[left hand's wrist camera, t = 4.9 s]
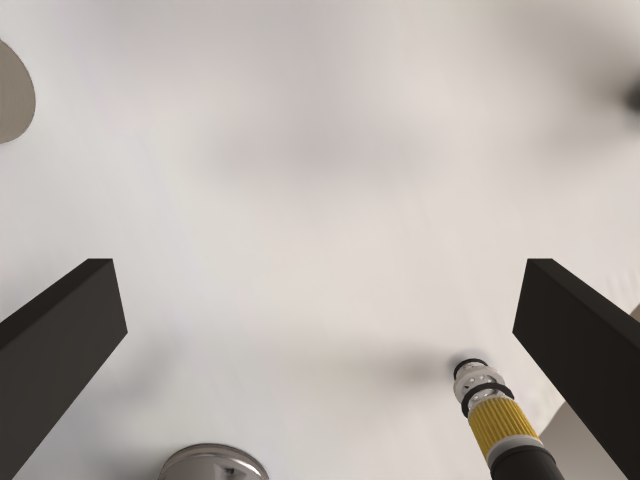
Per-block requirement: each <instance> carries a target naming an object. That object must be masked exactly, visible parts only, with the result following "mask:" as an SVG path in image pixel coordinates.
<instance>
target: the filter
mask: <svg viewBox="0 0 640 480" xmlns="http://www.w3.org/2000/svg"><path fill="white" fill-rule="evenodd" d="M470 362H479V363H482V364H484V365H485V366H475V367H473V365H472V364H470ZM463 365H464V366H463ZM468 365H471V366H472V368H469V369H467V370H465V367H466V366H468ZM462 366H463V367H464V371H463V372H462V373H461V374H460V375H459V376H458V377H457V379H456V374H457V371H458V370H459V369H460V367H462ZM453 375H454V380H455V383H454V387H453V388H454V393H455V396H456V398H457V400H458V401H459V403H461V407H462V412H463V414H464V416H465V417H466V418H467V419H468V422H469V425H470V427H471V429H472V431H473V433H474V435H475V438H476V440H477V442H478V444H479V447H480V449H481V451H482V453H483V456H484V458H485V460H486V462H487V465H488V467H489V469H490V474H491V478H492V480H565V479H564V478H563V476H562V474H561V473H560V471H559V469H558V468H557V466H556V462H555V460H554V458H553V457H552V455H551V454H550V453H549V452H548V451H547V450H546V449H545V447H544V445H543V444H542V442H541V441H540V439H539V438H538V436H537V434H536V433H535V431H534V430H533V428H532V426H531V425H530V423H529V422H528V420H527V418H526V417H525V415H524V414H523V412H522V410H521V409H520V407H519V406H518V404H517V403H516V401H515V400H514V396H513V394H512V392H511V390H510V389H508V388H507V387H506V386H505V382H504V379H503V378H502V376H501V375H500V373H499V372H498V371H497V370H495V369H493V368H491V367H488V365H487V364H486V363H485V362H484V361H482V360H480V359H475V358H474V359H467V360H465V361H462V362H461V363H459V364H458V365H457V367H456V368H455V370H454V374H453ZM481 375H482V376H484V378H483V379H482V380H481V379H480V378H479V377H480V376H481ZM471 378H473V379H474V382H471V381H470V379H471ZM490 379H492V381H491V382H490V383H488V380H490ZM489 389H492V390H489ZM481 390H482V391H481ZM479 391H480V392H479ZM485 394H488V395H487V396H484V395H485ZM503 394H505V395H503ZM476 396H478V398H477V399H476V398H474V397H476ZM469 408H471V409H470V410H469Z"/></svg>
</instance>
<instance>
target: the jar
mask: <svg viewBox="0 0 640 480" xmlns="http://www.w3.org/2000/svg"><path fill="white" fill-rule="evenodd" d="M34 111H35V93H34V88H33V84H32V81H31V78H30V76H29V74H28V71H27V70H26V68H25V66H24V64H23V63H22V61H21V60H20V59H19V57H18V56H17V55H16V54H15V52H14V51H13V50H12V49H11V48H10V47H9V46H8V45H7V44H5V43H4V42H3V41H1V40H0V143H4V142H9V141H11V140H14V139H15V138H17V137H19V136H20V135H21V134H22V133H24V131H25V130H26V129H27V128H28V126H29V125H30V123H31V121H32V118H33V115H34Z"/></svg>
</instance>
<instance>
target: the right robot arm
mask: <svg viewBox="0 0 640 480" xmlns="http://www.w3.org/2000/svg"><path fill="white" fill-rule="evenodd" d="M158 480H269V478H268V476H267V473H266V472H265V470H264V468H263V467H262V466H261V465H260V464H259V463H258V462H257V461H256V460H255V459H254V458H252V457H251V456H249V455H248V454H246V453H244V452H242V451H240V450H237V449H235V448H231V447H227V446H222V445H212V444H207V445H197V446H192V447H189V448H186V449H184V450H181V451H179V452H178V453H176V454H174V455H173V456H172V457H171V458H170V459H169V460H168V461H167V462H166V463H165V465H164V467H163V469H162V471H161V473H160V476H159V478H158Z"/></svg>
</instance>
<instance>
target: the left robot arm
mask: <svg viewBox="0 0 640 480" xmlns="http://www.w3.org/2000/svg"><path fill="white" fill-rule="evenodd" d="M127 333H128V331H127V327H126V322H125V317H124V312H123V307H122V302H121V298H120V293H119V288H118V283H117V278H116V273H115V269H114V264H113V259H87V260H86V261H84V262H83V263H81V264H80V265H79V266H77V267H76V268H75V269H73V270H72V271H70V272H69V273H68V274H66V275H65V276H64V277H62V278H61V279H60V280H58V281H57V282H55V283H54V284H53V285H51V286H50V287H49V288H47V289H46V290H45V291H43V292H42V293H40V294H39V295H38V296H36V297H35V298H34V299H32V300H31V301H29V302H28V303H27V304H25V305H24V306H23V307H21V308H20V309H19V310H17V311H16V312H14V313H13V314H12V315H10V316H9V317H8V318H6V319H5V320H4V321H2V322H1V323H0V480H12V479H13V477H14V476H15V475H16V474H17V472H18V471H19V470H20V468H21V467H22V466H23V465H24V463H25V462H26V461H27V460H28V458H29V457H30V456H31V455H32V453H33V452H34V451H35V449H36V448H37V447H38V446H39V444H40V443H41V442H42V441H43V439H44V438H45V437H46V435H47V434H48V433H49V432H50V430H51V429H52V428H53V427H54V425H55V424H56V423H57V422H58V420H59V419H60V418H61V416H62V415H63V414H64V413H65V411H66V410H67V409H68V408H69V406H70V405H71V404H72V403H73V401H74V400H75V399H76V397H77V396H78V395H79V394H80V392H81V391H82V390H83V389H84V387H85V386H86V385H87V384H88V382H89V381H90V380H91V378H92V377H93V376H94V375H95V373H96V372H97V371H98V370H99V368H100V367H101V366H102V365H103V363H104V362H105V361H106V359H107V358H108V357H109V356H110V354H111V353H112V352H113V351H114V349H115V348H116V347H117V346H118V344H119V343H120V342H121V340H122V339H123V338H124V337H125V335H126V334H127ZM512 333H513V334H514V335H515V337H516V338H517V339H518V340H519V342H520V343H521V344H522V346H523V347H524V348H525V349H526V351H527V352H528V353H529V354H530V356H531V357H532V358H533V359H534V361H535V362H536V363H537V365H538V366H539V367H540V368H541V370H542V371H543V372H544V373H545V375H546V376H547V377H548V378H549V380H550V381H551V382H552V384H553V385H554V386H555V387H556V389H557V390H558V391H559V392H560V394H561V395H562V396H563V397H564V399H565V400H566V401H567V402H568V404H569V405H570V406H571V408H572V409H573V410H574V411H575V413H576V414H577V415H578V416H579V418H580V419H581V420H582V422H583V423H584V424H585V425H586V427H587V428H588V429H589V430H590V432H591V433H592V434H593V435H594V437H595V438H596V439H597V441H598V442H599V443H600V444H601V446H602V447H603V448H604V449H605V451H606V452H607V453H608V454H609V456H610V457H611V458H612V460H613V461H614V462H615V463H616V465H617V466H618V467H619V468H620V470H621V471H622V472H623V473H624V475H625V476H626V477H627V479H628V480H640V323H639V322H638V321H636V320H635V319H634V318H632V317H631V316H630V315H628V314H627V313H626V312H624V311H623V310H621V309H620V308H619V307H617V306H616V305H615V304H613V303H612V302H611V301H609V300H608V299H606V298H605V297H604V296H602V295H601V294H600V293H598V292H597V291H595V290H594V289H593V288H591V287H590V286H589V285H587V284H586V283H585V282H583V281H582V280H580V279H579V278H578V277H576V276H575V275H574V274H572V273H571V272H570V271H568V270H567V269H565V268H564V267H563V266H561V265H560V264H559V263H557V262H556V261H554V260H553V259H527V264H526V269H525V273H524V278H523V283H522V288H521V293H520V298H519V302H518V307H517V312H516V317H515V322H514V327H513V331H512Z"/></svg>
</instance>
